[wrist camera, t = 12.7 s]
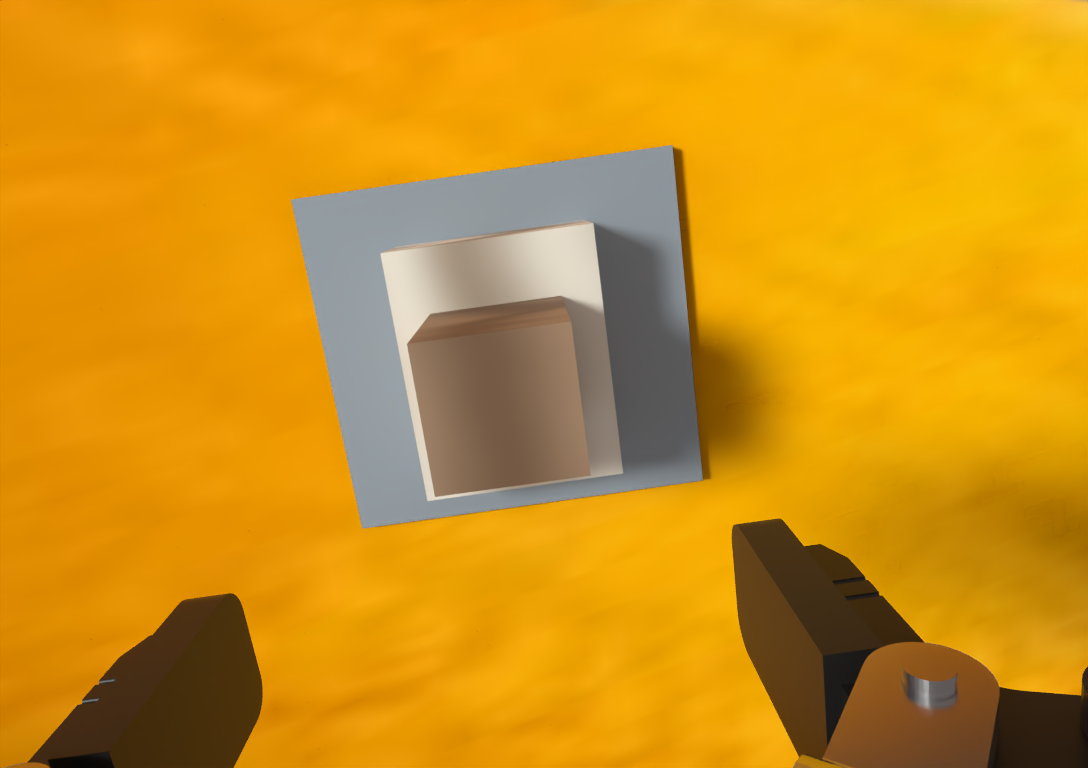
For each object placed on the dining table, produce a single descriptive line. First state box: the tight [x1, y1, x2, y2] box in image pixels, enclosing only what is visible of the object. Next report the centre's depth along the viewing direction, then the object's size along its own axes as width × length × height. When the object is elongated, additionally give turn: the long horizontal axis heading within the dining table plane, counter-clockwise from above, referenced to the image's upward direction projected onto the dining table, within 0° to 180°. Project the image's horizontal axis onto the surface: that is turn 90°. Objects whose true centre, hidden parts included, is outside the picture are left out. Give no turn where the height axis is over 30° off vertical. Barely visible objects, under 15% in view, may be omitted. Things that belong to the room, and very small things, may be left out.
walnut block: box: [407, 296, 591, 497], centre depth 26 cm, size 5×5×6 cm
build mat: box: [291, 145, 703, 528], centre depth 33 cm, size 16×15×1 cm
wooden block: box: [380, 220, 623, 501], centre depth 31 cm, size 8×10×4 cm
